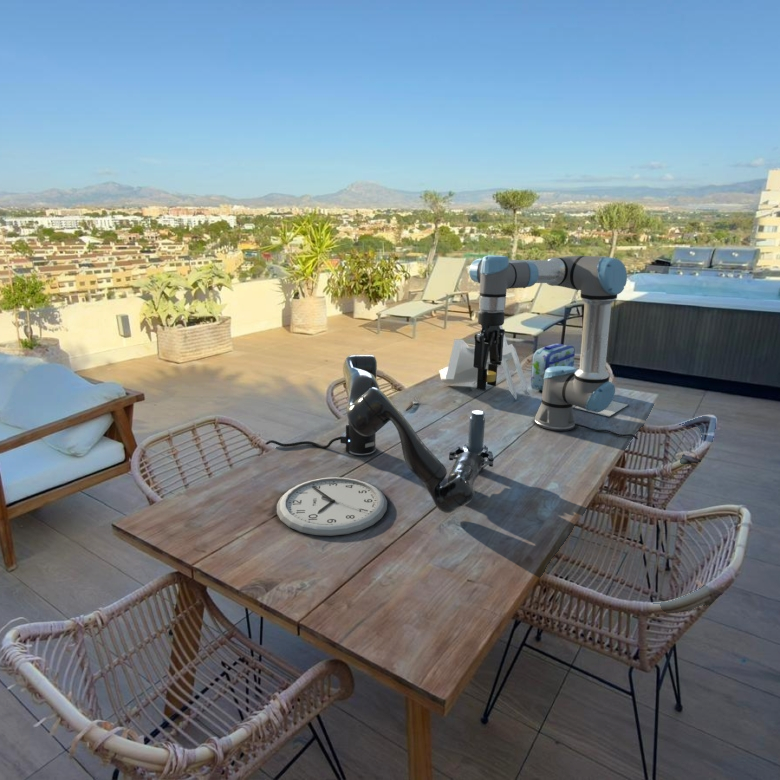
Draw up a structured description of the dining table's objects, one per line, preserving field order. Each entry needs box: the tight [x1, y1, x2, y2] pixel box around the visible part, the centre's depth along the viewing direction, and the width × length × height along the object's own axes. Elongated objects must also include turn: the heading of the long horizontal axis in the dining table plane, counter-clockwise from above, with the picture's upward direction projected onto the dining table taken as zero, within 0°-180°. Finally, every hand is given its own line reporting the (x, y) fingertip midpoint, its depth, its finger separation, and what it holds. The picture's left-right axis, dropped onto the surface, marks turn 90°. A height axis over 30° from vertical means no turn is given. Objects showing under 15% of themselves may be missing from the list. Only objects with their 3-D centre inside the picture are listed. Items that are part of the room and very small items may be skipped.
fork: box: [405, 396, 421, 411], centre depth 222 cm, size 3×16×2 cm, turn 160°
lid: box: [486, 370, 497, 383], centre depth 157 cm, size 5×5×2 cm
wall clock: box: [276, 476, 388, 537], centre depth 142 cm, size 30×2×30 cm
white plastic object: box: [438, 325, 531, 400], centre depth 245 cm, size 37×45×31 cm
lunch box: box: [530, 343, 576, 391], centre depth 249 cm, size 26×11×21 cm, turn 134°
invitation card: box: [573, 400, 629, 418], centre depth 226 cm, size 21×1×15 cm
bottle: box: [467, 409, 486, 472], centre depth 163 cm, size 5×5×19 cm
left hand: (476, 447), depth 166 cm, fingers closed on bottle, 4 cm apart
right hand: (486, 387), depth 158 cm, fingers closed on lid, 5 cm apart
